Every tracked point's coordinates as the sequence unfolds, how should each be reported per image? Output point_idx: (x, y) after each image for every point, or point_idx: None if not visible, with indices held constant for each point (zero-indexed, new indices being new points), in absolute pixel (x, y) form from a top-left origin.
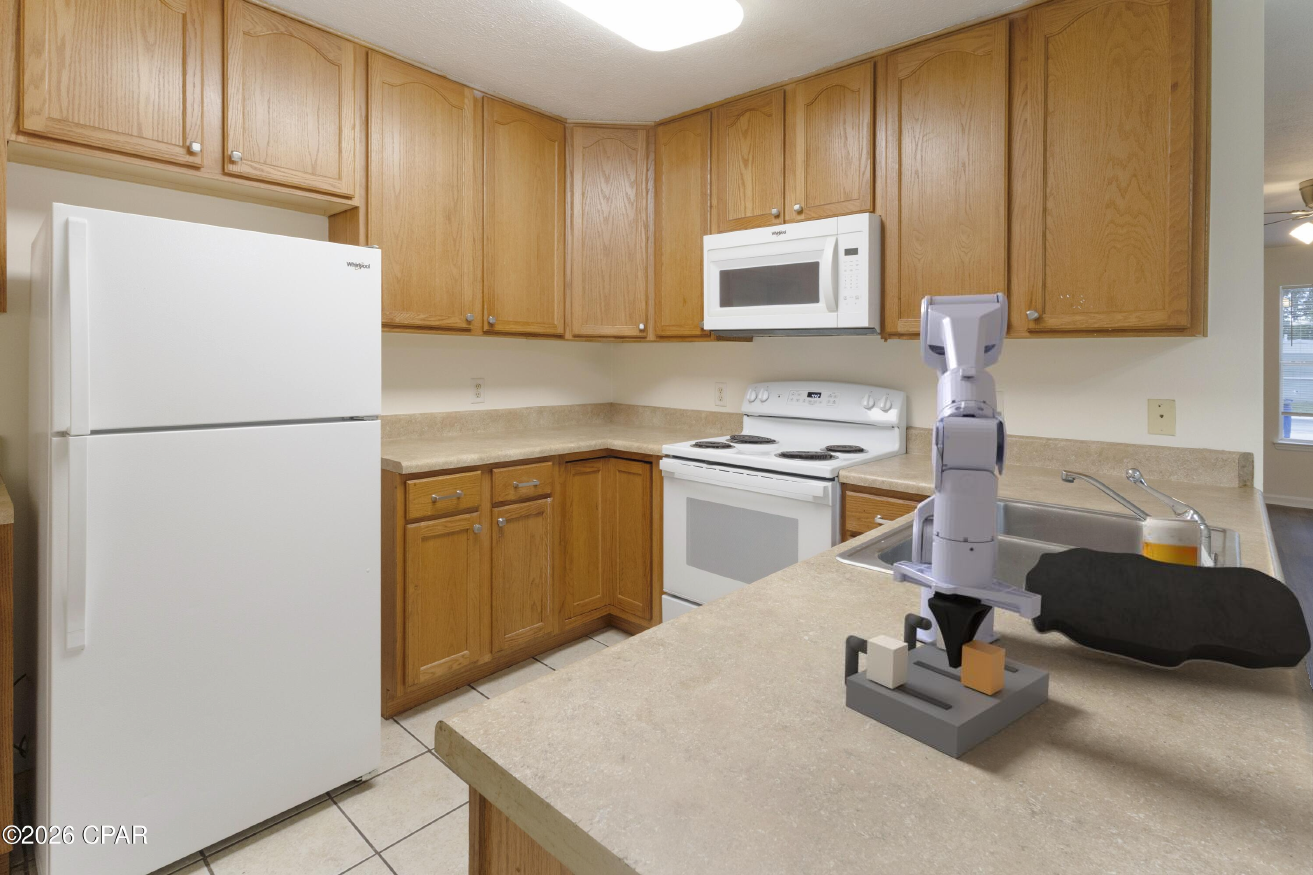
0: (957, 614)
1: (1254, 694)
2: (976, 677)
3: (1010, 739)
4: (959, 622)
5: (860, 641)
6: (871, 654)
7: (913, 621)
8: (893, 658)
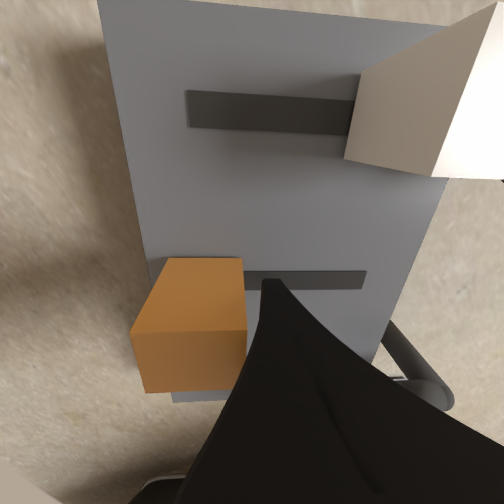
0: (264, 496)
1: (77, 484)
2: (201, 274)
3: (136, 217)
4: (253, 418)
5: None
6: None
7: (429, 389)
8: (445, 34)
